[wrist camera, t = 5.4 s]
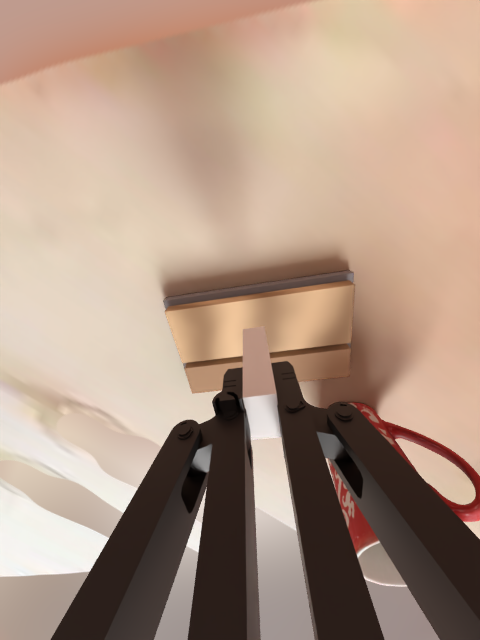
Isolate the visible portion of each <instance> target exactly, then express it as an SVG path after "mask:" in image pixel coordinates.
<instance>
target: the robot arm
mask: <svg viewBox="0 0 480 640" xmlns="http://www.w3.org/2000/svg"><path fill="white" fill-rule="evenodd" d="M212 403H213V407H214V411H215V414H216V416H215V417H213V418H212V419H210V420H208V421H206V422H204V423H201V424H198V423H197V422H196V421H194V420H185V421H182V422H180V423H179V424H177V425H176V426H175V427H174V428H173V429H172V431H171V432H170V434H169V436H168V438H167V439H166V441H165V443H164V445H163V446H162V448H161V450H160V451H159V453H158V455H157V457H156V458H155V460H154V462H153V464H152V465H151V467H150V469H149V471H148V472H147V474H146V476H145V478H144V479H143V481H142V483H141V484H140V486H139V488H138V489H137V491H136V493H135V495H134V496H133V498H132V500H131V502H130V503H129V505H128V507H127V509H126V510H125V512H124V514H123V515H122V517H121V519H120V521H119V522H118V524H117V526H116V528H115V529H114V531H113V533H112V534H111V536H110V538H109V540H108V541H107V543H106V545H105V547H104V548H103V550H102V552H101V553H100V555H99V557H98V559H97V560H96V562H95V564H94V566H93V567H92V569H91V571H90V572H89V574H88V576H87V578H86V579H85V581H84V583H83V585H82V586H81V588H80V590H79V592H78V593H77V595H76V597H75V598H74V600H73V602H72V604H71V605H70V607H69V609H68V611H67V613H66V614H65V616H64V617H63V619H62V621H61V623H60V624H59V626H58V628H57V630H56V631H55V633H54V635H53V636H52V638H51V640H154V637H155V634H156V631H157V628H158V625H159V623H160V620H161V617H162V614H163V611H164V608H165V605H166V602H167V600H168V596H169V594H170V591H171V588H172V585H173V582H174V579H175V576H176V574H177V570H178V568H179V565H180V562H181V559H182V556H183V553H184V550H185V548H186V545H187V542H188V539H189V536H190V533H191V530H192V527H193V524H194V521H195V519H196V516H197V513H198V510H199V507H200V504H201V501H202V498H203V495H204V492H205V489H206V487H207V491H206V498H205V507H204V514H203V522H202V530H201V538H200V546H199V555H198V562H197V570H196V578H195V586H194V595H193V602H192V610H191V618H190V626H189V634H188V640H261V639H260V618H259V617H260V616H259V593H258V571H257V570H258V569H257V549H256V524H255V500H254V477H253V454H252V447H251V440H258V439H267V438H277V437H282V443H283V451H284V459H285V462H286V468H287V474H288V480H289V486H290V493H291V499H292V505H293V511H294V517H295V523H296V529H297V535H298V541H299V546H300V553H301V559H302V565H303V571H304V577H305V583H306V589H307V595H308V600H309V607H310V613H311V619H312V625H313V631H314V637H315V640H384V637H383V634H382V631H381V628H380V625H379V621H378V619H377V615H376V612H375V610H374V606H373V603H372V600H371V597H370V594H369V591H368V588H367V585H366V582H365V579H364V576H363V572H362V569H361V566H360V563H359V560H358V557H357V554H356V551H355V548H354V545H353V542H352V539H351V536H350V533H349V530H348V527H347V524H346V520H345V517H344V514H343V511H342V508H341V505H340V502H339V499H338V496H337V493H336V490H335V487H334V484H333V481H332V478H331V475H330V471H329V468H328V465H327V462H326V459H325V458H329V460H330V462H331V463H332V465H333V467H334V468H335V470H336V472H337V473H338V475H339V476H340V478H341V480H342V481H343V483H344V485H345V486H346V488H347V489H348V491H349V493H350V494H351V496H352V498H353V499H354V501H355V502H356V504H357V506H358V507H359V509H360V511H361V512H362V514H363V515H364V517H365V519H366V520H367V522H368V524H369V525H370V527H371V528H372V530H373V532H374V533H375V535H376V536H377V538H378V540H379V541H380V543H381V545H382V546H383V548H384V549H385V551H386V553H387V554H388V556H389V558H390V559H391V561H392V562H393V564H394V566H395V567H396V569H397V571H398V572H399V574H400V575H401V577H402V579H403V580H404V582H405V584H406V585H407V587H408V588H409V590H410V591H411V593H412V595H413V596H414V598H415V600H416V601H417V603H418V605H419V606H420V608H421V610H422V611H423V613H424V614H425V616H426V618H427V619H428V621H429V622H430V624H431V626H432V627H433V629H434V631H435V632H436V634H437V635H438V637H439V639H440V640H480V539H479V538H478V537H477V536H476V535H475V534H474V533H473V532H472V531H471V530H470V529H469V528H468V527H467V525H466V524H465V523H464V522H463V521H462V520H461V519H460V518H459V517H458V516H457V515H456V514H455V513H454V512H453V510H452V509H451V508H450V507H449V506H448V505H447V504H446V503H445V502H444V501H443V500H442V499H441V498H440V497H439V495H438V494H437V493H436V492H435V491H434V490H433V489H432V488H431V487H430V486H429V485H428V484H427V483H426V482H425V480H424V479H423V478H422V477H421V476H420V475H419V474H418V473H417V472H416V471H415V470H414V469H413V468H412V466H411V465H410V464H409V463H408V462H407V461H406V460H405V459H404V458H403V457H402V456H401V455H400V454H399V453H398V451H397V450H396V449H395V448H394V447H393V446H392V445H391V444H390V443H389V442H388V441H387V440H386V439H385V438H384V436H383V435H382V434H381V433H380V432H379V431H378V430H377V429H376V428H375V427H374V426H373V425H372V424H371V423H370V421H369V420H368V419H367V418H366V417H365V416H364V415H363V414H362V413H361V412H360V411H359V410H358V409H357V408H356V407H355V406H353V405H351V404H348V403H344V402H337V403H334V404H332V405H330V406H329V408H328V409H323V408H317V407H314V406H312V405H310V404H308V403H307V402H306V401H305V400H304V398H303V396H302V393H301V389H300V386H299V383H298V380H297V377H296V374H295V371H294V368H293V365H291V364H290V363H289V362H288V361H283V362H276V363H271V360H270V355H269V349H268V344H267V338H266V333H265V327H264V326H262V327H255V328H248V329H243V367H241V368H233V369H228V370H227V371H226V373H225V374H224V378H223V388H222V392H220V393H218V394H217V395H216V396H215V397H214V399H213V401H212Z"/></svg>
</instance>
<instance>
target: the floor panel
mask: <svg viewBox="0 0 480 640" xmlns="http://www.w3.org/2000/svg"><path fill="white" fill-rule="evenodd" d="M353 278H354V273H353V272H352V271H350V270H347V271H341V272H334V273H327V274H320V275H314V276H307V277H300V278H294V279H287V280H280V281H273V282H267V283H260V284H253V285H246V286H240V287H233V288H226V289H219V290H213V291H206V292H199V293H193V294H186V295H179V296H172V297H166V298H165V299H164V301H163V302H164V305H165V308H166V309H167V308H168V306H175V305H182V304H189V303H195V302H202V301H209V300H216V299H223V298H230V297H237V296H244V295H251V294H258V293H264V292H271V291H278V290H285V289H292V288H299V287H306V286H313V285H320V284H327V283H333V282H340V281H347V280H350V281H351V282H352V283H353ZM269 355H270V360H271V363H276V362H283V361H288V362H289V363H290V364H291V365H293V368H294V371H295V374H296V377H297V380H298V382H302V381H311V380H320V379H330V378H339V377H348V376H350V357H351V343H345V344H336V345H328V346H320V347H312V348H303V349H295V350H287V351H279V352H270V353H269ZM183 365H184V369H185V372H186V375H187V378H188V381H189V385H190V388H191V391H192V393H201V392H210V391H219V390H222V388H223V378H224V374H225V373H226V371H227V370H228V369H233V368H241V367H243V356H238V357H229V358H221V359H213V360H205V361H196V362H188V363H183Z"/></svg>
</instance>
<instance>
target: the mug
mask: <svg viewBox="0 0 480 640" xmlns="http://www.w3.org/2000/svg"><path fill="white" fill-rule="evenodd" d="M348 404H351V405H353V406H355V407H356V408H357V409H358V410H359V411H360V412H361V413H362V414H363V415H364V416H365V417H366V418H367V419H368V420H369V421H370V423H371V424H372V425H373V426H374V427H375V428H376V429H377V430H378V431H379V432H380V433H381V434H382V435H383V436H384V438H385V439H386V440H387V441H388V442H389V443H390V444H391V445H392V446H393V447H394V448H395V449H396V450H397V451H398V453H399V454H400V455H401V456H402V457H403V458H404V459H405V460H406V461H407V462H408V463H409V464H410V465H411V466H412V468H413V469H414V470H415V471H416V469H415V468H414V466H413V465H412V464H411V462H410V461H409V459H408V458H407V456H406V455H405V454H404V452H403V451H402V449H401V448H400V446H399V445H398V444H397V442H396V441H395V439H397V438H403V439H406V440H408V441H411V442H414V443H416V444H419V445H421V446H423V447H425V448H427V449H429V450H431V451H433V452H435V453H437V454H439V455H441V456H443V457H445V458H446V459H448V460H449V461H451V462H452V463H454V464H455V465H456V466H457V467H459V468H460V469H461V470H462V471H463V472H464V473H465V474H466V475H467V476H468V477H469V479H470V480H471V482H472V483H473V485H474V487H475V491H476V497H475V500H474V501H473V502H472V503H469V504H466V505H459V504H456V503H453V502H451V501H450V500H448V499H446V498H445V497H443V496H442V495H441V494H440V493H439V492H438V491H437V490H436V489H435V488H433V487H432V486H431V485H429V484H428V483H427V484H428V485H429V486H430V487H431V488H432V489H433V490H434V491H435V492H436V493H437V494H438V495H439V497H440V498H441V499H442V500H443V501H444V502H445V503H446V504H447V505H448V506H449V507H450V508H451V509H452V510H453V512H454V513H455V514H456V515H457V516H458V517H459V518H460V519H461V520H462V521H465V522H473V521H479V520H480V476H479V475H478V474H477V472H476V471H475V470H474V469H473V468H472V467H471V466H470V465H469V464H468V463H467V462H466V461H465V460H464V459H463V458H461V457H460V456H459V455H458V454H456V453H455V452H453V451H452V450H450V449H449V448H447V447H445V446H444V445H442V444H440V443H438V442H436V441H434V440H432V439H430V438H428V437H426V436H424V435H421V434H419V433H417V432H414V431H411V430H409V429H406V428H403V427H400V426H398V425H395V424H392V423H389V422H385V421H384V420H381V419H380V417H379V416H378V414H377V413H376V412H375V411H374V409H372V408H371V407H369V406H367V405H365V404H362V403H348ZM328 462H329V465H330V470H331V474H332V477H333V481H334V485H335V489H336V493H337V496H338V499H339V502H340V505H341V508H342V511H343V514H344V517H345V520H346V524H347V527H348V530H349V533H350V536H351V539H352V542H353V545H354V548H355V551H356V554H357V557H358V560H359V563H360V566H361V569H362V572H363V576H364V579H366V580H368V581H370V582H374V583H377V584H381V585H387V586H407V585H406V584H405V582H404V580H403V579H402V577H401V575H400V574H399V572H398V571H397V569H396V567H395V566H394V564H393V562H392V561H391V559H390V558H389V556H388V554H387V553H386V551H385V549H384V548H383V546H382V545H381V543H380V541H379V540H378V538H377V536H376V535H375V533H374V532H373V530H372V528H371V527H370V525H369V524H368V522H367V520H366V519H365V517H364V515H363V514H362V512H361V511H360V509H359V507H358V506H357V504H356V502H355V501H354V499H353V498H352V496H351V494H350V493H349V491H348V489H347V488H346V486H345V485H344V483H343V481H342V480H341V478H340V476H339V475H338V473H337V472H336V470H335V468H334V467H333V465H332V463H331V462H330V460H329V458H328ZM416 472H417V471H416ZM417 473H418V472H417Z"/></svg>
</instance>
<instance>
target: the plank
mask: <svg viewBox="0 0 480 640" xmlns="http://www.w3.org/2000/svg"><path fill="white" fill-rule="evenodd" d="M354 290H355V284H353V283H352V282H351V281H350V280H347V281H340V282H333V283H327V284H320V285H313V286H306V287H299V288H292V289H285V290H278V291H271V292H264V293H258V294H251V295H244V296H237V297H230V298H223V299H216V300H209V301H202V302H195V303H189V304H182V305H175V306H168V308H167V309H166V311H165V314H166V317H167V320H168V323H169V326H170V328H171V331H172V334H173V337H174V340H175V343H176V346H177V349H178V352H179V354H180V357H181V360H182V363H188V362H196V361H205V360H213V359H221V358H229V357H238V356H243V329H248V328H255V327H262V326H264V327H265V333H266V338H267V344H268V349H269V353H270V352H279V351H287V350H295V349H303V348H312V347H320V346H328V345H336V344H345V343H351V336H352V321H353V305H354Z"/></svg>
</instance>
